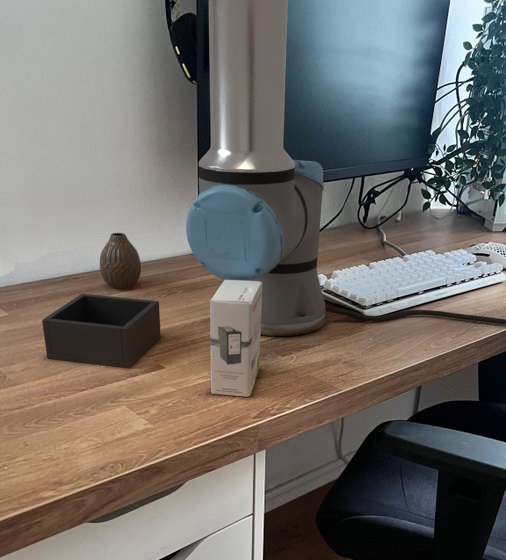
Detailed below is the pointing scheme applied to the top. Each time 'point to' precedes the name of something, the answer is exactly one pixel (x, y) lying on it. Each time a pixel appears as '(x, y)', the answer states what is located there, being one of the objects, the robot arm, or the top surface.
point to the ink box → (235, 337)
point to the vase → (120, 262)
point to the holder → (102, 330)
